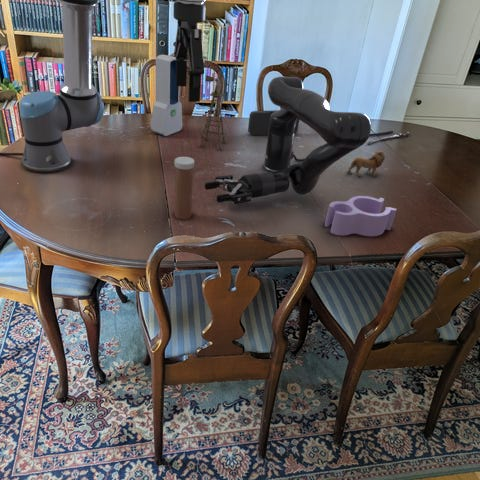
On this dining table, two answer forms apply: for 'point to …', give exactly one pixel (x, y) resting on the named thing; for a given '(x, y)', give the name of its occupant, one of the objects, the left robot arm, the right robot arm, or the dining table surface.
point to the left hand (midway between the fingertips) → (187, 93)
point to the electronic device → (166, 98)
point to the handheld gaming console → (262, 122)
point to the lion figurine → (368, 163)
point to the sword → (386, 138)
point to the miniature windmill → (215, 95)
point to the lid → (184, 163)
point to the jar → (183, 193)
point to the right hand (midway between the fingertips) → (211, 192)
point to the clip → (359, 216)
